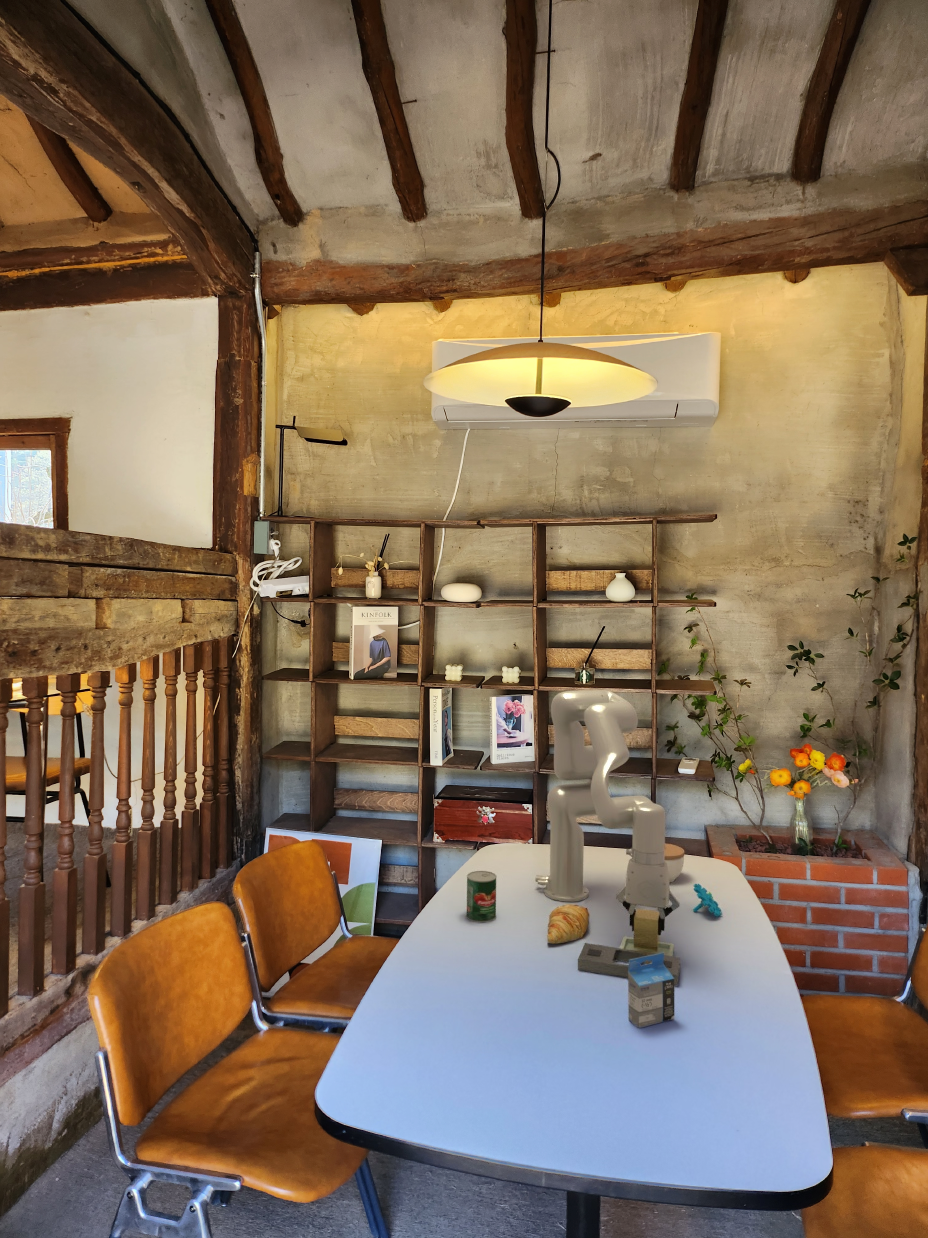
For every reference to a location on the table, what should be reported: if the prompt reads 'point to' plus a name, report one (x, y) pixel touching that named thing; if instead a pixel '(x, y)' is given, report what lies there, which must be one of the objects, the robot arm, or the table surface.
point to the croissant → (567, 923)
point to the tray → (663, 948)
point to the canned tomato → (481, 896)
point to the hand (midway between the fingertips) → (646, 930)
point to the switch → (605, 957)
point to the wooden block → (646, 930)
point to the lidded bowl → (674, 860)
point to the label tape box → (650, 991)
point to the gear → (706, 900)
